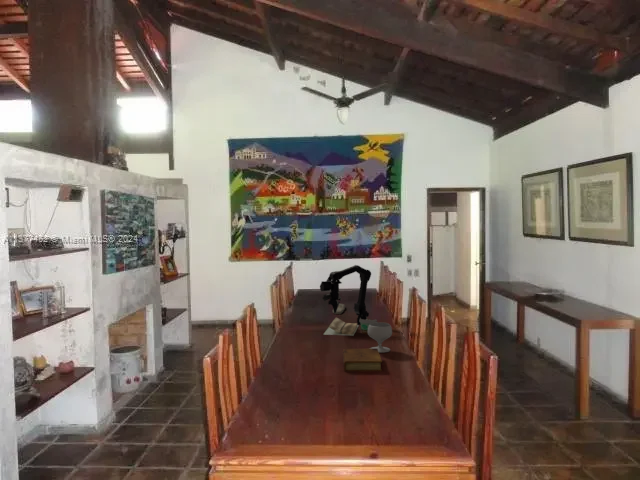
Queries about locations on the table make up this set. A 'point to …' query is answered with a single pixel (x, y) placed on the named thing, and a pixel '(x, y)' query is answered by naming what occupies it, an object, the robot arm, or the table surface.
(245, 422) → the table surface
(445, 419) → the table surface
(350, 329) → the oak board
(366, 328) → the food container
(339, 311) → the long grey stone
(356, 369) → the diary
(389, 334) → the chalice
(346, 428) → the table surface
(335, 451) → the table surface
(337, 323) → the plank
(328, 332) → the underlay mat
